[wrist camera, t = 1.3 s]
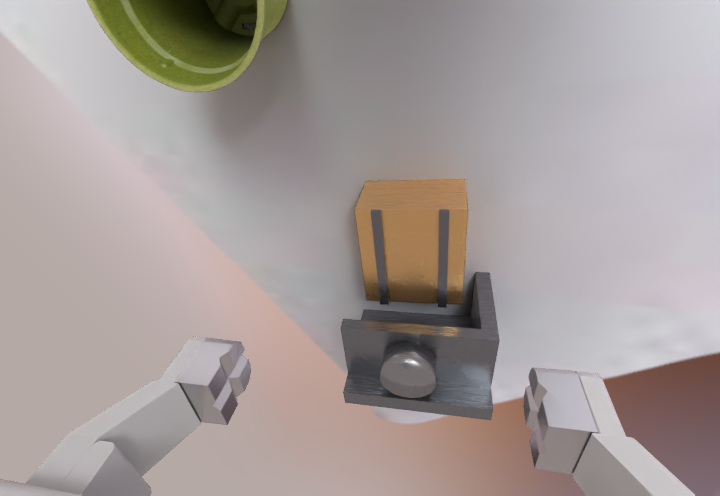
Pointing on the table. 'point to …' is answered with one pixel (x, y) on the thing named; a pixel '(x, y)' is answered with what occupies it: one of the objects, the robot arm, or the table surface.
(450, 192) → the block
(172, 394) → the robot arm
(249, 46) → the plant pot
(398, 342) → the bracket
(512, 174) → the table surface
